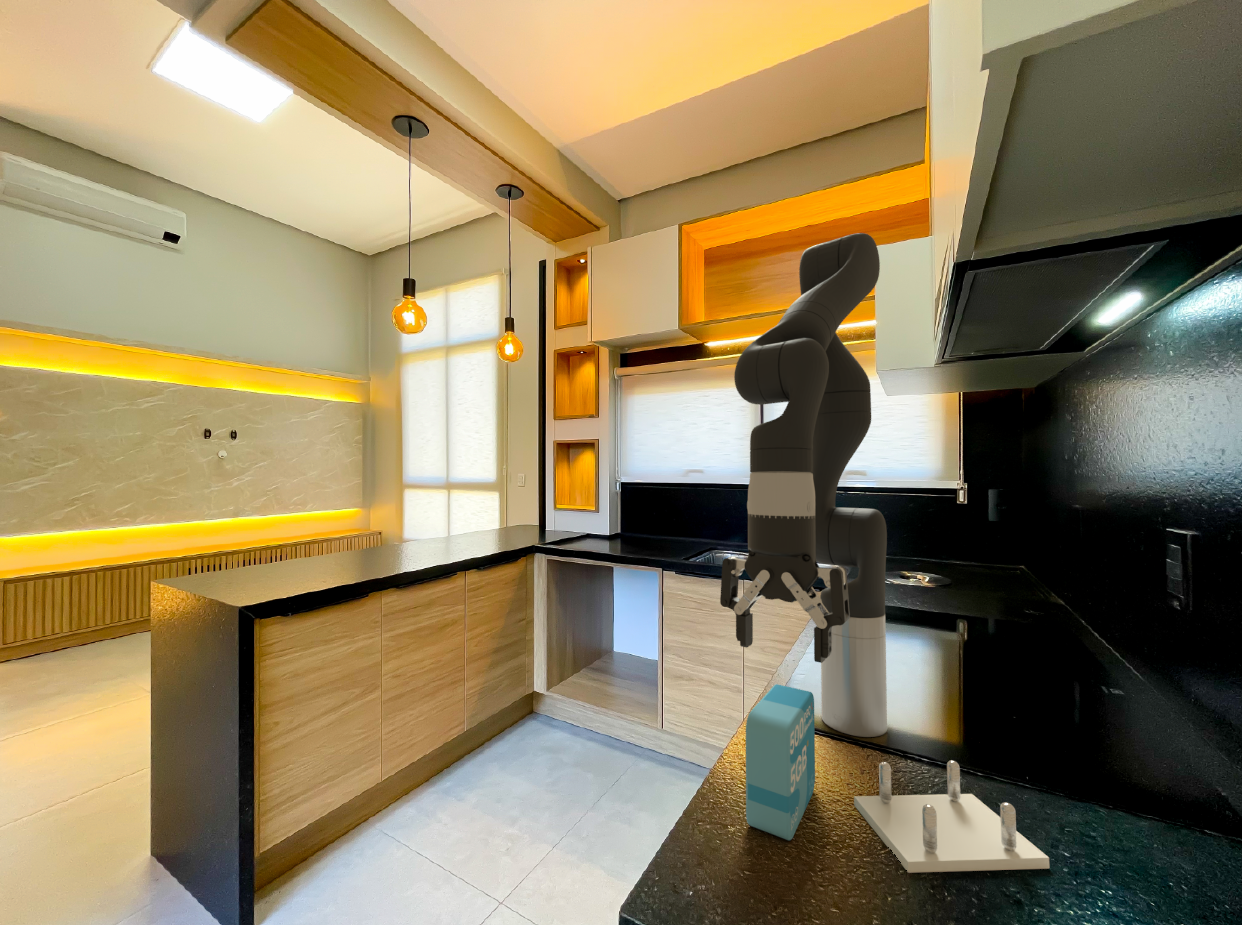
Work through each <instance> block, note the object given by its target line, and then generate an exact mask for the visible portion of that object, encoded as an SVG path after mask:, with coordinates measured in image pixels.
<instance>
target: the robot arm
mask: <svg viewBox="0 0 1242 925" xmlns="http://www.w3.org/2000/svg"><path fill="white" fill-rule="evenodd" d="M880 264H881V262H880V255H879V250H878V246H877V243H876V241H875V239H874V238H873V237H872V236H871V235H870V234H868V233H864V232H859V233H858V232H857V233H853V234H847V235H845V236H842V237H838V238H835V239H831V240H829V241H825V242H822V243H819V244H816V245H813V246H811V247H808V248H806V249H804V251H803V252H802V254H801V257H800V260H799V272H798V274H799V290H800V296H799V297H798V298H797V299H796V300H794V301H793V303H791V304H790V306H789V308H787V309H786V311H785V313H784V314H783V316H782V317H781V319H780V320H779V322H778V323H777V325H775V326H774V327H771V328H770V329H769V330H767V331H766V332H764V333H763V334H762V335H760V336H759V337H758V338H756V339H755V340H753V341H752V342H751V343H749V345H748V346H747V347H746V348H745V349H744V350H743V351H742V353H741V355H740V356H739V358H738V359H737V362H736V365H735V369H734V374H733V376H734V385H735V388H736V391H737V393H738V394H739V396H740V397H741V398H742V399H743V400H744V401H745V402H748V403H750V404H751V405H760V406H761V405H771V404H779V403H780V404H781V403H787V405H786V407H785V408H784V410H783V412H782V414H780V415H779V416H778V417H777V418H774V419H771V420H769V421H766V422H762V423H760V424H758V425H756V426H755V427H753V428H752V431H751V432H750V438H749V441H750V442H749V450H750V452H749V472H750V473H749V483H748V488H747V502H746V509H747V550H748V555H747V558H746V559H744V558H739V557H738V556H737V555H736V556H735V555H734V556H729V557H725V558H723V559H722V564H721V565H722V566H721V567H722V568H721V578H720V579H721V584H720V599H719V600H720V601H719V602H720V605H721V607H724V608H728V609H730V610H732V611H733V612H734V613H735V637H736V639H737V642H739V644H740V645H739V646H740V647H742V648H749V647H751V646H752V644H753V642H754V640H753V639H754V638H753V637H754V635H753V634H754V631H753V630H754V628H753V624H754V623H753V621H754V619H753V616H754V614H753V612H751V609H752V608H753V607H754V606H755V605H756V603H757V602H758V601H759V600H760V599H761V598H762V597H764V599H766V600H772V601H773V600H781V601H782V602H786V603H794V602H798V604H799V605H800V606H801V608H802V610H803V611H805V612H806V613H807V614H808V616H809V618H811V620H812V621H813V623H814V624H815V627H813V644H814V645H813V652H814V653H813V655H814V656H813V659H814V662H815V663H820V673H821V674H820V678H821V679H820V680H821V681H820V683H821V692H820V694H821V698H820V700H821V704H820V705H821V706H820V707H821V719H822V721H823V722H824V724H826V725H827V726H828V727H830V728H831V729H833V730H835V731H837V732H840V733H842V734H843V733H844V734H846V735H851V736H855V737H863V738H871V737H872V738H873V737H880V736H883V735H885V734H886V733H887V730H888V709H887V708H888V700H887V699H888V696H887V695H888V694H887V690H888V689H887V687H888V686H887V644H886V643H887V638H886V637H887V636H886V633H887V632H886V563H887V548H888V547H887V544H888V541H887V540H888V539H887V538H888V532H887V523H886V519H885V518H884V515H883V514H882V512H881V511H880V510H878V509H875V508H865V507H864V508H863V507H862V508H859V507H836V499H837V498H836V497H837V489H838V486H839V483H840V480H841V477H842V475H843V473H844V471H845V468H846V467H847V465H848V464H849V462H850V461H851V460H852V458H853V457H854V454H856V451H857V450H858V448H859V447H860V446H861V444H862V442H863V441H864V439H865V437H866V436H867V433H868V431H869V429H870V427H871V423H872V397H871V395H872V394H871V382H870V379H869V377H868V376H869V375H867V372H866V371H865V369H864V368H863V366H862V365H861V364H860V363H859V361H858V360H857V359H856V358H855V356H854V355H853V354H852V353H851V351H849V350H848V348H847V347H846V346H845V344H844V342H842V340H841V339H840V337H839V336H838V334H837V330H838V329H839V327H840V325H841V324H842V323H843V322H844V320H845V319H846V318H847V317H848V316H849V315H850V314H851V312H852V311H853V310H855V309H856V307H858V306H859V305H860V303H862V301H863V300H864V299H865V298H866V297H867V296H868V295H869V294H871V292H872V291H873V290H874V289H875V287H876V285H877V283H878V280H879V277H880V272H881V271H880V268H881V267H880V266H881V265H880ZM818 563H819V564H823V565H828V566H836V567H820V566H819V564H818ZM846 567H849V568H858V573H857V574H858V575H857V577H856V578H855V579H853V580H852V581H849V582H848V577H847V576H848V574H847V573H848V572H847V569H846ZM744 570H745V572H746V574H747V575H748V577H749V578H750V580H751V581H752V582H751V584H750V585H749V586H748V587H747V588H746V590H745V591H744V593H743V594H742V596H741V597H740V598H739V597H738V596H739V595H738V594H739V582H740V581H739V580H740V579H739V578H740V576H741V575H742V574H743V572H744ZM819 578H821V579H822V580H823V583H824V585H825V588H824V589H822V590H821V591H820V595H819V594H818V593H817V591H816V590H815V589H814V587H813V586H814V585H815V583H816V582H817V580H819Z"/></svg>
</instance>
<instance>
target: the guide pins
mask: <svg viewBox="0 0 1242 925" xmlns="http://www.w3.org/2000/svg"><path fill="white" fill-rule="evenodd" d="M960 772H961V769H960V765H959V763H958V762H957V761H956V760H952V759H951V760H949V761H948V762H947V763H946V775H947V776H946V779H947V780H946V781H947V794H948V797H949V798H950V799H951V800H952V801H954V802H958V801H959V800H960V794H961V776H960V775H961V773H960ZM878 778H879V779H878V780H879V782H878V786H879V789H878V790H879V792H878V793H879V795H878V796H880V799H881V800H882V801H883V802H884V803H890V802H891V796H892V767H891V765H890V764H889V763H888V762H886V761H881V762H880V763H879V764H878ZM999 813H1000V814H999V817H1000V818H1001V843H1002V845H1003V846H1004V848H1006V849H1007V850H1009V851H1014V850H1015V849H1016V846H1017V845H1016V831H1017V820H1016V819H1017V818H1016V817H1017V815H1016V814H1017V813H1016V808H1015V807H1014V805H1012V804H1011V803H1009V802H1002V803H1000V807H999ZM922 823H923V846H924V848H925V849H926V850H927V851H928V852H930V853H935V852H936V851H937V813H936V810H935V808H934V807H933V806H931V805H929V804H926V805H924V806H923V808H922Z"/></svg>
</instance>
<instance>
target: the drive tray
mask: <svg viewBox="0 0 1242 925" xmlns="http://www.w3.org/2000/svg"><path fill="white" fill-rule="evenodd" d="M853 800H854V801H853V806H854V807H855V808H856V810H857V811H858V812H859V813H860V814H861V816H862V817H863V819H865V821H866V822H867V823H868V825H869V826H870V828H872V830H873V831H874V832H875V833H876V834H877V835H878V837H879V838H880V839H881V841H882V842H883V843H884V845H885V846H886V847H887V848H888V847H889V848H888V849H889V850H890V849H891V850H892V852H893V853H892V852H891V853H892V854H893V855H894V854H895V855H896V857H897V858H898V859H897V858H896V857H895V858H896V859H897V861H898V860H899V861H900V862H901V863H900V862H899V861H898V862H899V863H900V864H901V866H902V867H903V868H904V870H907V871H906V872H907V873H911V874H912V873H933V872H934V873H938V872H939V873H943V872H947V873H948V872H973V871H974V872H975V871H976V872H977V871H978V872H979V871H980V872H981V871H1002V870H1003V871H1004V870H1006V871H1007V870H1008V871H1009V870H1011V871H1013V870H1040V869H1041V870H1043V869H1044V870H1047V869H1050V857H1049V856H1048V855H1046V854H1045V853H1044V852H1043V851H1042V850H1040V848H1038V847H1037V846H1036V845H1034V844H1033V843H1032V842H1031V841H1030V840H1028V839H1027V838H1026V837H1025V836H1023V834H1021V833H1020V832H1018V831H1017V830H1016V845H1017V846H1016V849H1015V850H1014V851H1009V850H1007V849H1006V848H1004V846H1003V845H1002V843H1001V817H1000V815H998V813H996V812H995V811H993V810H992V809H991V808H990V807H989V806H987V805H986V804H984V803H983V801H982V800H980V799H979V798H978V797H976V796H975V795H974V794H973V793H960V800H959V801H958V802H954V801H952V800H951V799H950V798H949V797H948V793H946V794H944V793H943V794H909V795H908V794H904V795H903V794H901V795H900V794H899V795H897V794H896V795H891V802H890V803H884V802H883V801H882V800H881V799H880V796H879V795H861V796H859V795H856V796H855V795H854V796H853ZM926 804H929V805H931V806H933V807H934V808H935V810H936V813H937V851H936V852H935V853H930V852H928V851H927V850H926V849H925V848H924V846H923V823H922V808H923V806H924V805H926Z"/></svg>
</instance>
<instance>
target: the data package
mask: <svg viewBox="0 0 1242 925" xmlns="http://www.w3.org/2000/svg"><path fill="white" fill-rule="evenodd" d="M815 735H816V734H815V697H814V694H813V692H812V691H809V690H803V689H800V688H795V687H790V686H788V685H787V686H786V685H782V684H779V683H776V684H774V685H773V686H772V687H771V688H770V689H769V690H768V691H767V693H766V694H765V695H764V696H763V697H762V698H761V699H760V700H759V701H758V703H756V705H755V706H754V707H753V708H752V709H751V711H749V713H748V715H747V718H746V723H745V818H746V823H747V824H748V826H750V827H753V828H756V829H758V830H760V831H763V832H766V833H769V834H770V835H774V836H776V837H779V838H781V839H784V840H786V841H791V840H792V839H793V838H794V835H795V833H796V831H797V829H798V827H799V824H800V822H801V820H802V818H803V815H804V813H805V811H806V809H807V807H808V805H809V803H810V801H811V799H812V798H811V797H812V796H813V794H814V790H815V783H816V773H815V772H816V759H815V758H816V749H815V746H816V745H815V744H816V743H815V742H816V740H815Z"/></svg>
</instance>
